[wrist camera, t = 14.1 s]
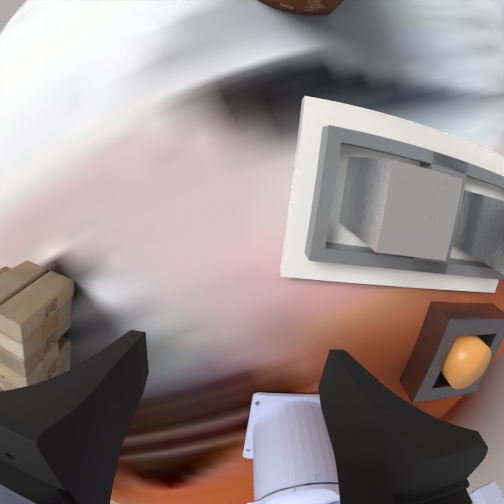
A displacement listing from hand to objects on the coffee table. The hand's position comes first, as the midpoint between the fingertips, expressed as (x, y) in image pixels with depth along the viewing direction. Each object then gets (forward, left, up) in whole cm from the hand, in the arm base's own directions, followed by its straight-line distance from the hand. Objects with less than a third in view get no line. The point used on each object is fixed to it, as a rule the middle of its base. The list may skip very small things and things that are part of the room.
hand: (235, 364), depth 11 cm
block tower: (-15, +19, -10) cm, 26 cm away
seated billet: (+6, -17, -8) cm, 19 cm away
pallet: (+6, -12, -9) cm, 16 cm away
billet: (+6, -8, -8) cm, 13 cm away
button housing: (-5, -19, -9) cm, 22 cm away
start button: (-5, -19, -8) cm, 21 cm away
